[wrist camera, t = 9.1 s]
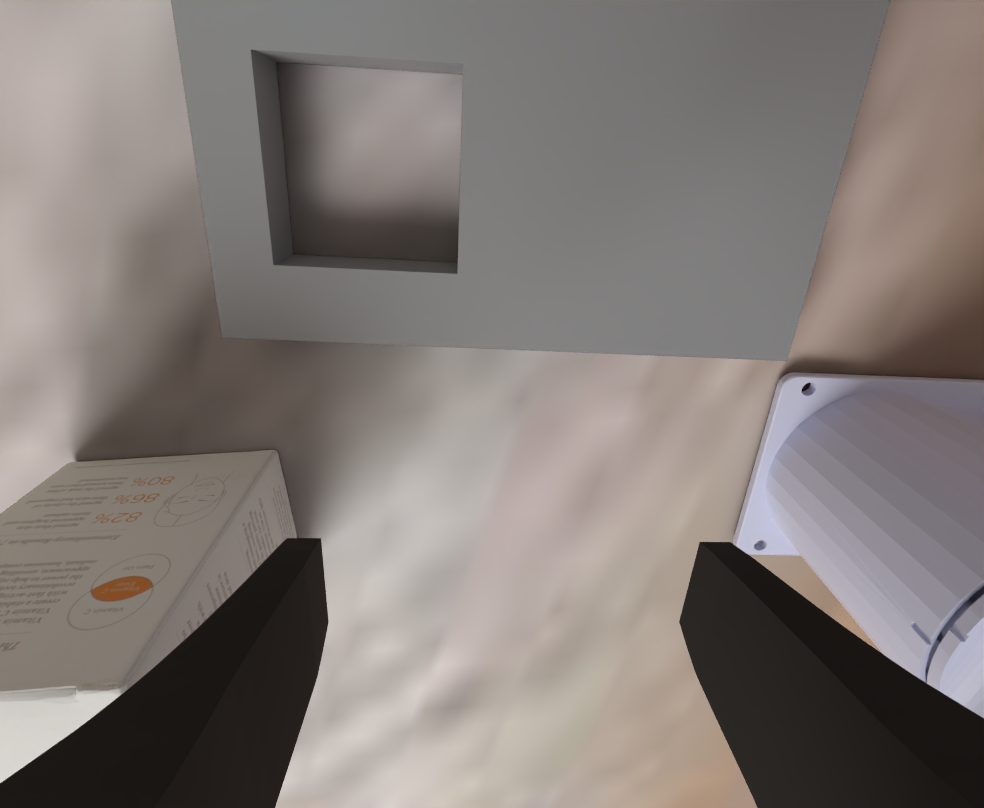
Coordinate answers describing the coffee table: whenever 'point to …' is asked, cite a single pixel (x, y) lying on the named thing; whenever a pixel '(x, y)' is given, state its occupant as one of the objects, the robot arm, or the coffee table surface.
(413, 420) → the coffee table surface
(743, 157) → the pocket board
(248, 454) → the small box
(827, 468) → the robot arm
